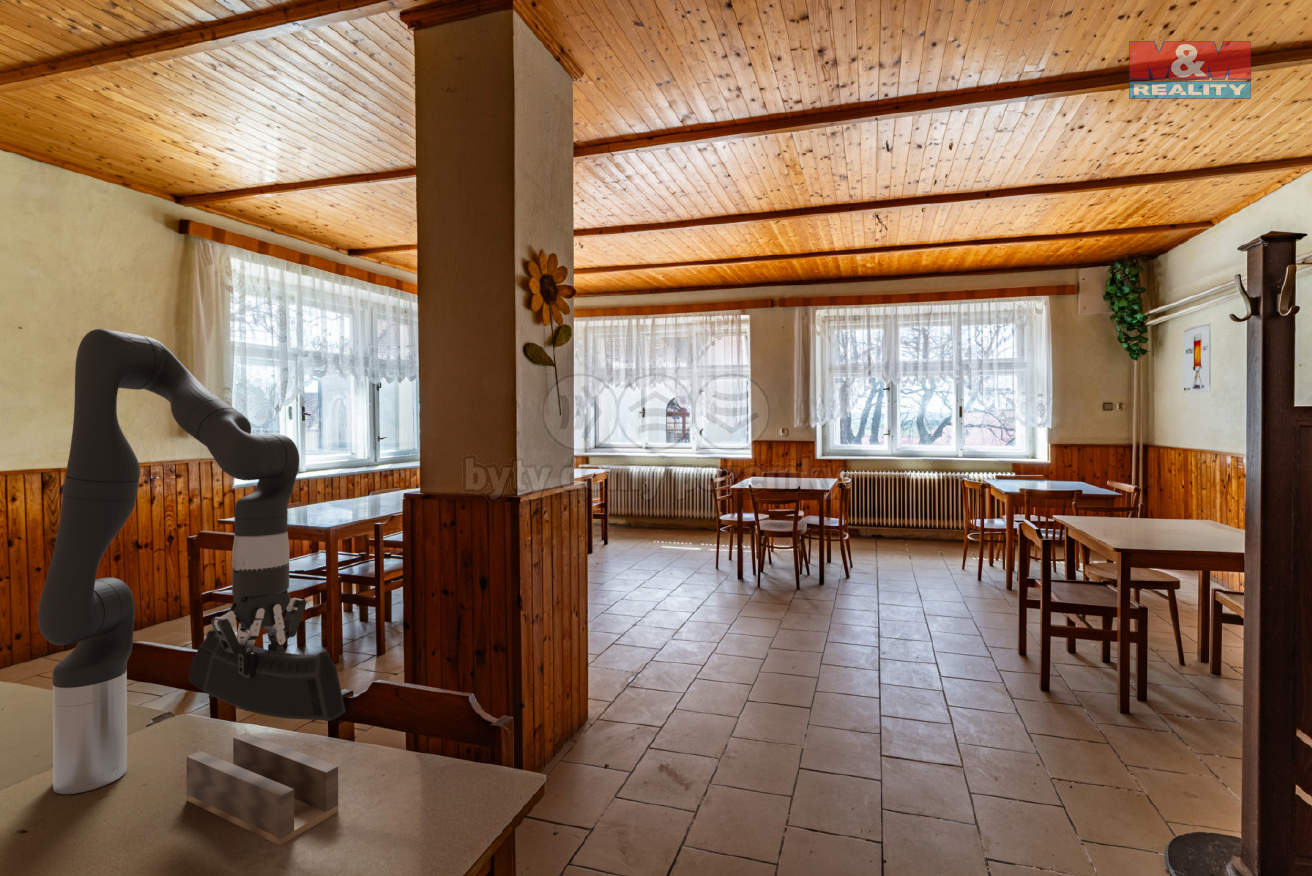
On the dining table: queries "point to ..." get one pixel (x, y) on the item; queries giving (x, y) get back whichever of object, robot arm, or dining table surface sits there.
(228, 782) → the slot block
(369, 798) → the dining table surface
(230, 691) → the magazine
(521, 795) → the dining table surface
